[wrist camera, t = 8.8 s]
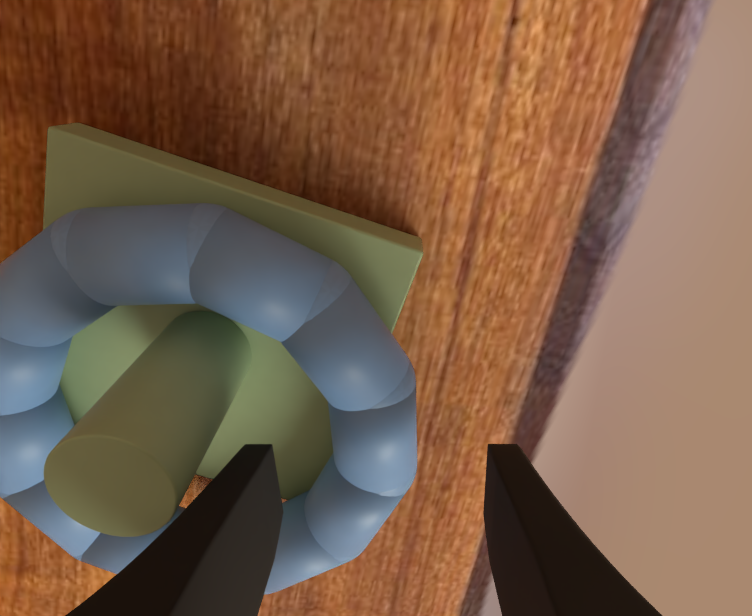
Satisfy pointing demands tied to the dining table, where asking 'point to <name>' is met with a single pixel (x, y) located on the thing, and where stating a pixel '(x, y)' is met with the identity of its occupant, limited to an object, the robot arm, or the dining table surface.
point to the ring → (233, 300)
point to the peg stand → (192, 345)
